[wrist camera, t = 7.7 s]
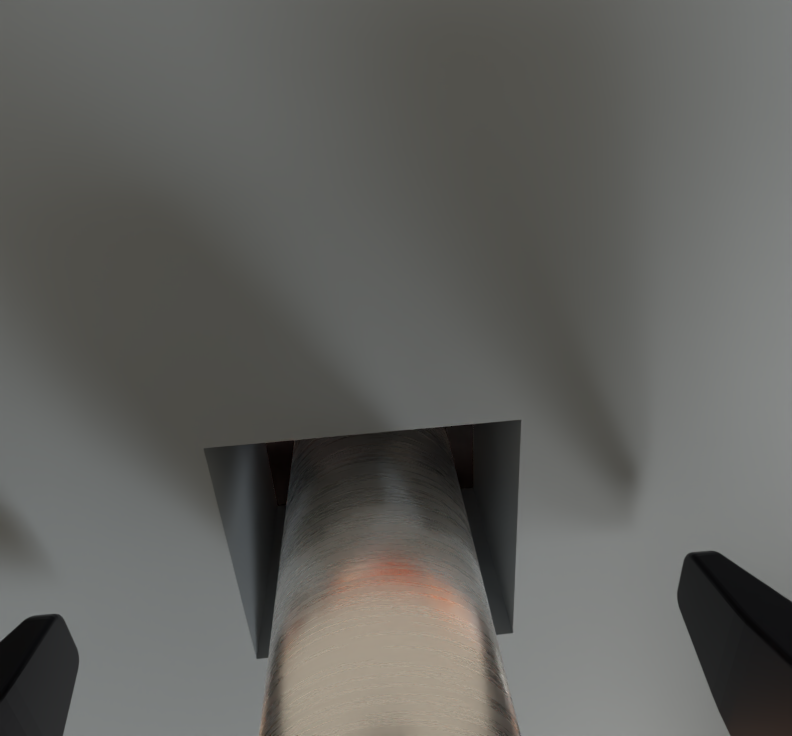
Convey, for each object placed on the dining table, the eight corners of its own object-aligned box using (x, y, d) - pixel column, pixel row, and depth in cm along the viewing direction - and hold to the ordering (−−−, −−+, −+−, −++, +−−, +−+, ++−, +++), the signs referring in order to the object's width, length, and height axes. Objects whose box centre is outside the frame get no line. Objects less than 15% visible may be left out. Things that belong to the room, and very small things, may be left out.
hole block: (1020, -73, 10) (1377, -121, 7) (785, 620, 18) (893, 767, 14) (-422, 24, 9) (-876, 27, 6) (-19, 702, 17) (-112, 877, 14)
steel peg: (437, 344, 13) (580, 849, 5) (440, 463, 14) (556, 1000, 7) (288, 357, 13) (200, 891, 5) (307, 475, 14) (261, 1034, 6)
